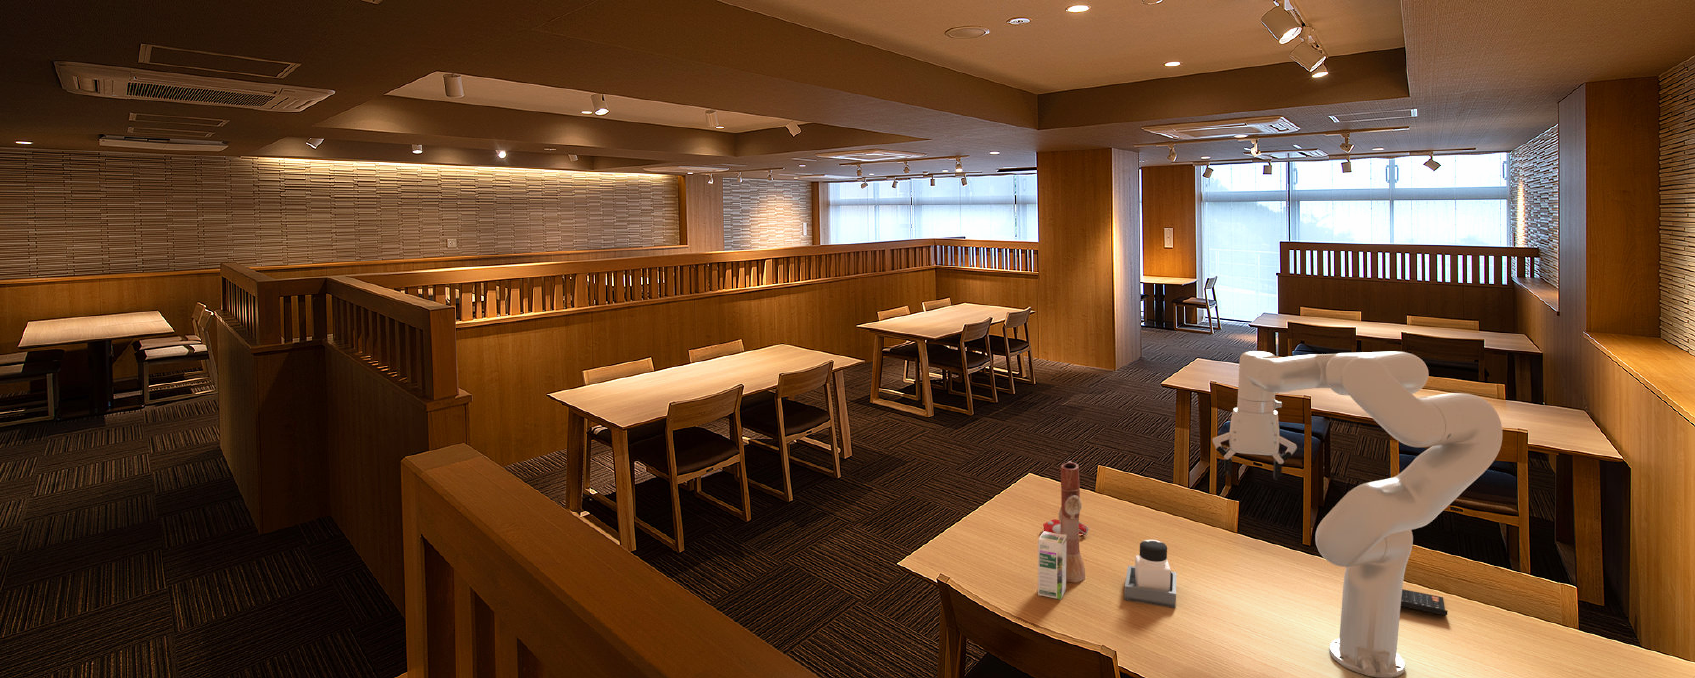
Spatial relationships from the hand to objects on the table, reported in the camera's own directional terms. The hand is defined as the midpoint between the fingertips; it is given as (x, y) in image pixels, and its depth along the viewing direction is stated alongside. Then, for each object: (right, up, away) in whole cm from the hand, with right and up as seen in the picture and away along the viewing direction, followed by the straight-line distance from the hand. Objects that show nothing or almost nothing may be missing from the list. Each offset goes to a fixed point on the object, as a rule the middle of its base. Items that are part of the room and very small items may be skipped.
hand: (1252, 476), depth 179 cm
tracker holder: (-33, -24, +37) cm, 55 cm away
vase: (-39, -28, +14) cm, 50 cm away
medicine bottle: (-22, -28, +4) cm, 36 cm away
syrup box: (-45, -30, +7) cm, 54 cm away
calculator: (+35, -29, -5) cm, 46 cm away
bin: (-22, -29, +5) cm, 36 cm away
